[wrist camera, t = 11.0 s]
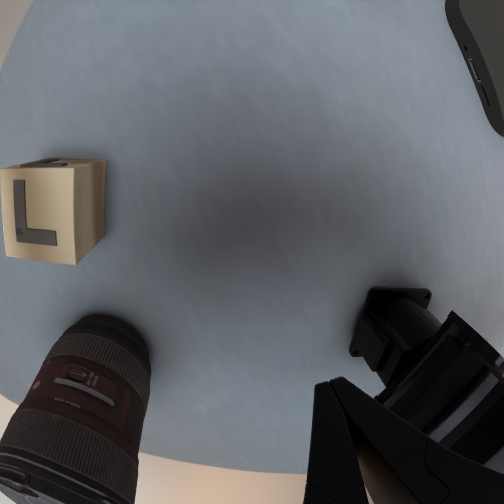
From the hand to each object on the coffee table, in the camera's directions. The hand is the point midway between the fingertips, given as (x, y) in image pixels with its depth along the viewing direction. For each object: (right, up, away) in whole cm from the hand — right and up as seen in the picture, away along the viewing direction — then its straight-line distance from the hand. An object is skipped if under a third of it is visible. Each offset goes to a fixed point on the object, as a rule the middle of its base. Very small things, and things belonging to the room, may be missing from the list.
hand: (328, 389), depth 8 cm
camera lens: (-14, -4, +14) cm, 20 cm away
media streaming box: (+22, +23, +9) cm, 33 cm away
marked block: (-14, +8, +9) cm, 19 cm away
